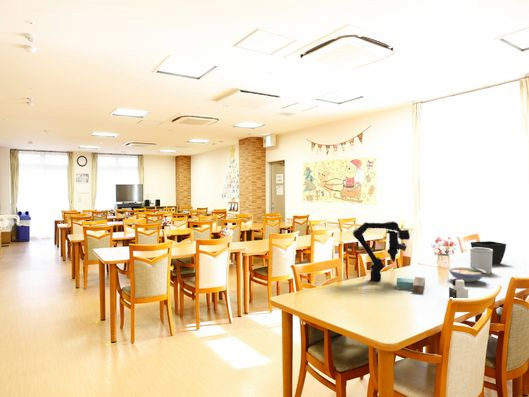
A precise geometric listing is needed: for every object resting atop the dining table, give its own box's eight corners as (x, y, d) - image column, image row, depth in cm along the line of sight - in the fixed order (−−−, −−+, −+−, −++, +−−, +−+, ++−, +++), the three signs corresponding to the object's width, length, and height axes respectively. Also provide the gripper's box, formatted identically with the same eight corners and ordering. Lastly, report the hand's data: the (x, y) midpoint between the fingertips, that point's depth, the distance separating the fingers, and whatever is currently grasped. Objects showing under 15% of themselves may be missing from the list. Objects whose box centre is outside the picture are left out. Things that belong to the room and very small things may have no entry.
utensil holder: (496, 272, 274) (496, 248, 273) (487, 275, 265) (486, 251, 265) (476, 268, 286) (476, 246, 285) (466, 271, 278) (466, 248, 277)
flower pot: (470, 261, 316) (469, 241, 315) (490, 260, 318) (490, 240, 317) (485, 265, 297) (485, 244, 296) (507, 264, 299) (507, 244, 298)
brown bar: (412, 293, 226) (412, 285, 226) (414, 284, 246) (414, 276, 246) (423, 294, 224) (423, 285, 224) (424, 285, 244) (424, 277, 243)
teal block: (396, 289, 236) (396, 281, 235) (397, 285, 245) (397, 277, 245) (413, 290, 232) (413, 282, 232) (413, 286, 241) (413, 278, 241)
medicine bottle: (448, 298, 213) (448, 278, 212) (460, 298, 213) (460, 277, 213) (456, 302, 206) (456, 281, 205) (468, 301, 206) (468, 280, 206)
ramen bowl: (443, 276, 265) (443, 264, 265) (478, 277, 261) (478, 265, 260) (454, 285, 241) (454, 272, 241) (492, 286, 236) (492, 273, 236)
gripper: (405, 242, 244) (405, 265, 244) (406, 238, 261) (406, 260, 261) (387, 241, 248) (387, 264, 249) (390, 237, 265) (390, 259, 266)
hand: (393, 261), depth 256 cm, fingers closed
